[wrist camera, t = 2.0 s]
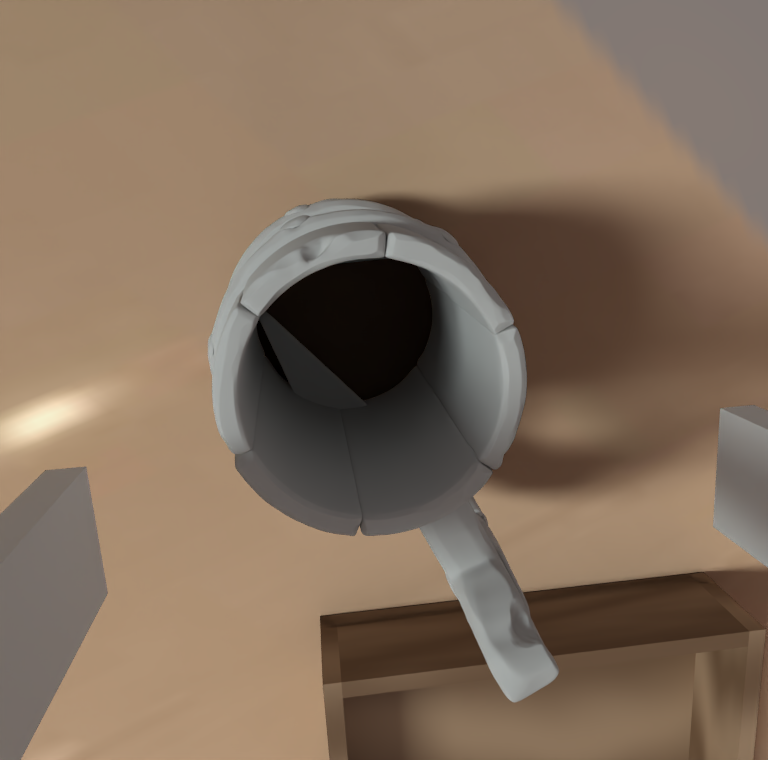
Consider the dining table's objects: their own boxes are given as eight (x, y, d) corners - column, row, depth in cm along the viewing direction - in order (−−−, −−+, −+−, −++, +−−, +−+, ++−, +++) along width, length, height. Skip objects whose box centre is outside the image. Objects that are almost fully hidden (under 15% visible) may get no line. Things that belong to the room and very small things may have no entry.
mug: (390, 154, 22) (487, 95, 10) (541, 453, 25) (743, 664, 14) (183, 270, 22) (51, 340, 10) (359, 552, 25) (405, 845, 14)
